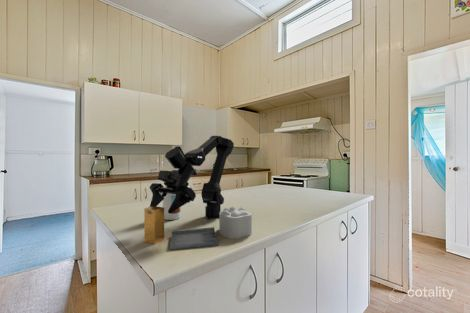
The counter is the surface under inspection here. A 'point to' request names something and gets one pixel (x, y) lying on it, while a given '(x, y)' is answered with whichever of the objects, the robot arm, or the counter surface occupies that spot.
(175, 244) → the dark grey tray
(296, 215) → the counter surface
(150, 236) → the block
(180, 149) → the robot arm
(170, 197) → the milk bottle
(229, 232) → the lumpy-topped squat cylinder
